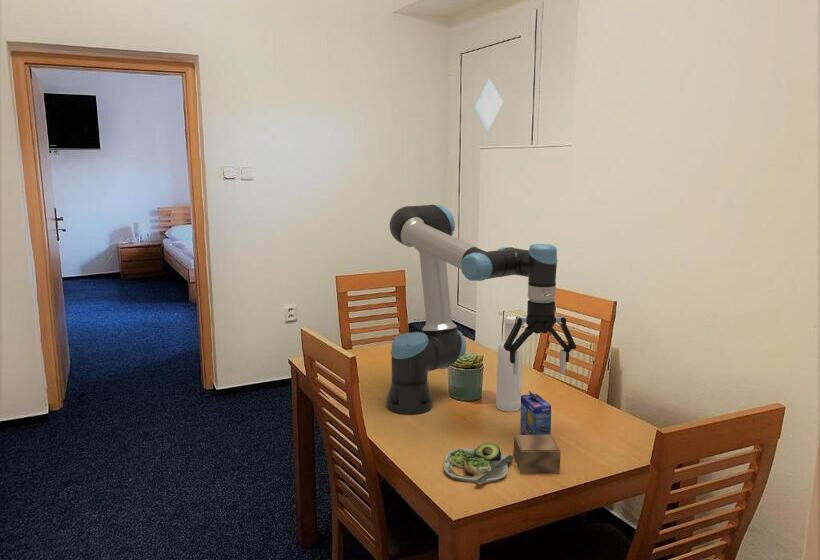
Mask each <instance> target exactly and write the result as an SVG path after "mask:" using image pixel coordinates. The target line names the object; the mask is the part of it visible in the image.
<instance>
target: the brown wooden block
mask: <svg viewBox="0 0 820 560" xmlns="http://www.w3.org/2000/svg"><path fill="white" fill-rule="evenodd" d="M512 451H513V455H512V456H513V459H514V461H515V464H516V466H517V469H518V471H519V473H520V474H521V475H522V474H523V475H527V474H528V475H534V474H535V475H536V474H537V475H538V474H539V475H540V474H547V475H548V474H560V469H561V449H560V448H559V446H558V445H557V443H556V441H555V440H554V438H553V436H552V434H551V435H521V434H516V435H513V450H512Z"/></svg>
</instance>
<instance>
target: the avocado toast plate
mask: <svg viewBox="0 0 820 560" xmlns="http://www.w3.org/2000/svg"><path fill="white" fill-rule="evenodd" d="M513 459H514V457H513V455H510V454H509V455H505V454H504V453H502V452H501V449H500V447H499V446H498V445H496V444H495V443H491V442H490V443H489V442H487V443H482V444H480V445H478V446H477V448H476V449H474V448H473V449H470V448H454V449H451V450H450V451H448V452H447V453H446V454H445V457H444V462H443V471H444V472H445V474H446V475H447V476H449V477H451V478H452V479H454V480H456V481H460V482H466V483H474V484H476V485H483V484H485V483H490V482H495V481H498V480H501V479H503V478H506V476H507V474H508V464H509V463H510V462H512V460H513ZM453 466H454V467H456V468H459V469H463V470H465V471H466V474H467V475H459V474H457V473H456V472H455V471H454V470H453Z"/></svg>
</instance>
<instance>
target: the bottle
mask: <svg viewBox="0 0 820 560" xmlns="http://www.w3.org/2000/svg"><path fill="white" fill-rule="evenodd" d="M516 317H517V316H515V315H514V316H511V315H508V316H506V317H505V320H504V338H503V339H502V340H501V341H500V342H499V345H498V347H497V368H496V369H497V370H496V371H497V372H496V374H497V375H496V376H497V377H496V397H495V398H496V399H495V403H496V404H495V406H496V408H497V409H498V410H500V411H502V412H508V413H511V412H512V413H514V412H518V411H519V410H521V395H522V378H523V377H522V375H523V373H522V372H523V352H524V350H523V346H522V345H521V346H520V347H519V348H518V350H517V352H518V376H515V375H514V374H513V363H511V362H510V351H506V350H505V349H504V347H503V346H504V344H505V342H506V340H507V338H508V336H509V334H510V332H511V331H512V329H513V327H514V325H515V320H516ZM517 339H518V338H517V337H516V338H515V340H514V342H515V341H516V340H517ZM514 342H513V343H514Z"/></svg>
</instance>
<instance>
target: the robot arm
mask: <svg viewBox="0 0 820 560" xmlns="http://www.w3.org/2000/svg"><path fill="white" fill-rule="evenodd" d="M455 228H456V224H455V219H454V216H453V213H451V211H450V210H449V209H448V208H447V207H445V206H443V205H441V204H423V205H407V206H406V205H405V206H402V207H401V208H398V209H397V210H396V211H394V213H393V214H392V216H391V217H390V221H389V231H390V235H392V237H393V239H394V240H396V241H397V242H398V243H400V244H402V245H403V246H406V247H408V248H414V249H415V250H417V251H418V253H419V254H418V255H419V261H420V272H421V283H422V284H421V285H422V292H423V293H422V294H423V295H422V296H423V303H424V305H423V306H424V313H425V314H424V315H425V325H424V326H423V327H422V329H421V330H422V332H419V331H413V332H405V333H402V334H399V335H397V336H396V337H395V338H393V340H392V342H391V350H390V355H391V384H390V387H389V390H388V393H387V395H386V400H385V402H386V403H385V404H386V405H385V406H386V408H387V410H389V412H390V411H391V412H393V413H395V414H400V415H401V414H402V415H417V414H418V415H419V414H422V413H426V412H428V411H430V410H432V409H433V407H434V405H433V404H434V403H433V401H434V400H433V397H432V393H431V390H430V389H431V388H430V387H429V384H428V374H429V373H428V372H430V371H435V370H438V369H444V368H443V367H449V366H451V365H452V363H453V364H454V362H455V361H456V360H457V359H459V358H460V357H461V356H463V355H464V356H466V355H465V354H466V351H467V342H466V338H465V336H463V333H462V332H461V331H460V330H458V326H457V324H456V323H454V322H453V320H452V308H451V299H450V288H449V287H450V286H449V277H448V267H447V263H448V264H450V265H452V267H456V268H458V269H460V270H461V273H462V274H463V275H464V277H465V278H466V280H468V281H472V282H473V281H474V282H475V281H477V282H482V281H485V280H490V279H495V278H503V277H509V276H520V277H526V278H528V279H527V283H528V285H527V299H529V300H528V301H527V306H526V307H527V311H526V317H520V316H515V317H516V320H515V325H514V327H513V329H512V331H511V332H510V334H509V336H508V338H507V340H506V342H505V344H504V346H503V347H504V349H505V350H506V351H510V362H511V363H513V374H514V375H515V376H518V352H517V350H518V348H519V347H520V346H522V345H523V344H524V343H525V342H526V340H527V339H528V338H529V337H530V336H531V335H533V333H535V334H548V332H549V333H550V334H551V335H552V336H553V338H554V339H555V340H556V341H557V342H558V344H559V345H560V346H561V347H562V348H561V349H560V353H559V373H561V375H566V363H569V361H570V352H571V351H572V350H576V349H577V345H576V342H575V341H574V338H573V337H572V334H571V332H570V330H569V327H568V326H567V318H566V317H564V315H560V316H558V317H556V316H555V313H556V302H555V301H554V300H555V299H556V290H557V289H556V287H557V286H556V284H557V282H556V280H557V269H558V268H557V267H558V250H557V247H556V246H555V245H553V244H549V243H546V244H545V243H534V244H533V243H532V244H531V245H529V249H524V248H522V249H521V248H516V247H512V246H509V247H505V246H504V247H503V246H502V247H499V248H498V249H497V250H490V251H487V250H483V249H481V248H478V247H477V246H474V245H472V244H470V243H468V242H466V241H463V240H461V239H460V238H456V237H455V236H453V235H454V232H455ZM525 323H526V325H527V326H526V327H525V328H524V330H523V332H521V334H520V335H519V336H518V334H519V332H520V330H521V328H522V327H523V326H524V325H525ZM556 324H558V325H559V326H560V328H561V331H562V333H563V335H564V336H565V339H566V341H567V343H568V344H567V343H566V342H565V341H564V340H563V339H562V338H561V336H560V335H559V333H558V332H557V331H556V330H555V329H554V325H556ZM515 338H516V339H517V340H516V341H515V342H514V340H515ZM513 342H514V343H513ZM449 368H450V367H449Z"/></svg>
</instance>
